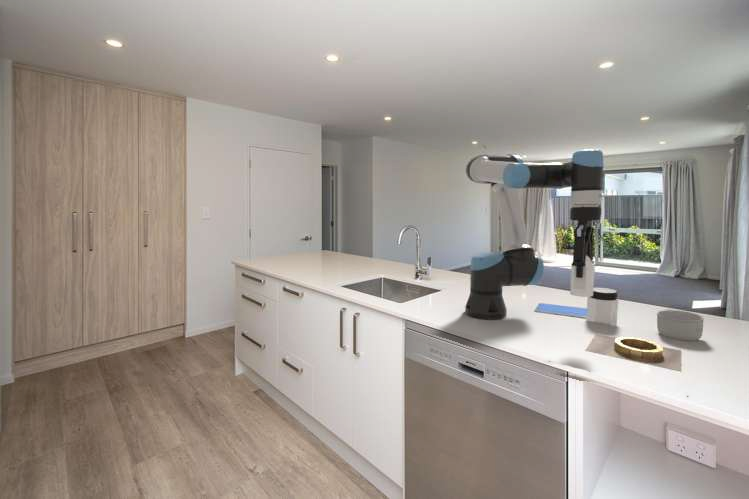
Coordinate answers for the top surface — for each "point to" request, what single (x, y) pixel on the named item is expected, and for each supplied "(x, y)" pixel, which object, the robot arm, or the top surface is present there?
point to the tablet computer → (561, 310)
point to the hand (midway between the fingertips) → (582, 286)
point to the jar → (603, 306)
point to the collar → (652, 353)
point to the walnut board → (606, 347)
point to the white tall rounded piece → (589, 280)
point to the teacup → (680, 324)
